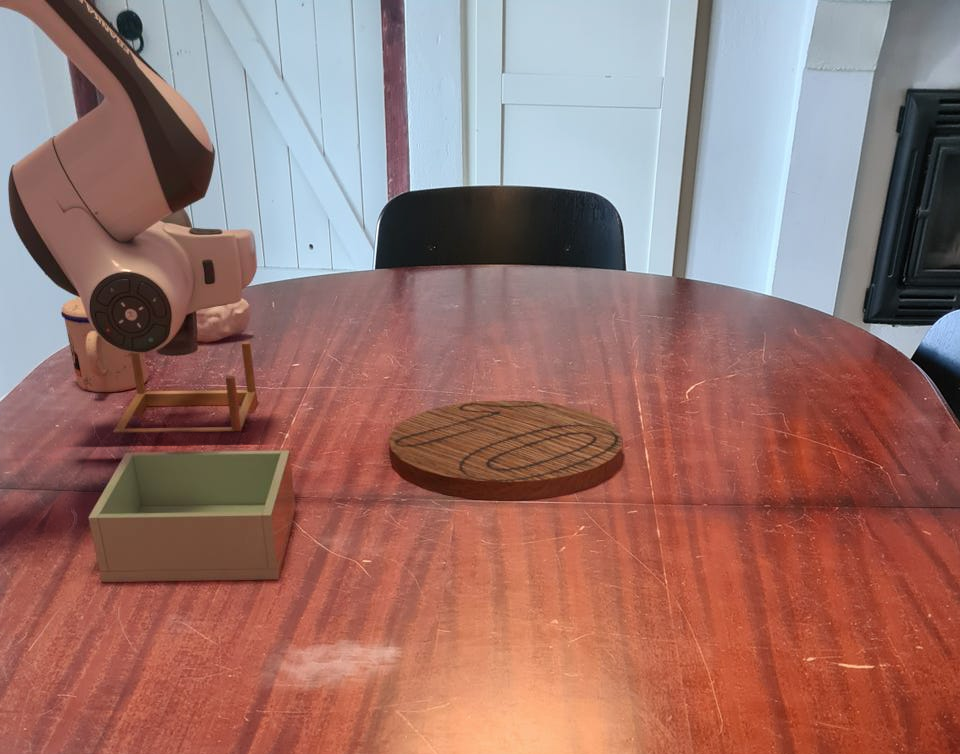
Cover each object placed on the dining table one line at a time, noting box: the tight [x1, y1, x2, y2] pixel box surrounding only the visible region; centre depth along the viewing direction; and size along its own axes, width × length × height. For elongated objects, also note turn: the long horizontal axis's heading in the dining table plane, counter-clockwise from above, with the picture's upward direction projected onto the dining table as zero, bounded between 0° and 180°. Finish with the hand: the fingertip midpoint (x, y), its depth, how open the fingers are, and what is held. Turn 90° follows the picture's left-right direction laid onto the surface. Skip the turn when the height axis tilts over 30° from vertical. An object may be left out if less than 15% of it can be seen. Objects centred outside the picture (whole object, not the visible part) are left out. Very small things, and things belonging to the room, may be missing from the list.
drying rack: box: [112, 341, 258, 434], centre depth 140 cm, size 14×14×7 cm
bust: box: [196, 297, 251, 343], centre depth 165 cm, size 12×8×11 cm
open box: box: [88, 449, 297, 583], centre depth 113 cm, size 16×16×6 cm
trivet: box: [388, 399, 624, 501], centre depth 132 cm, size 25×25×2 cm
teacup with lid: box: [60, 296, 149, 393], centre depth 149 cm, size 12×9×12 cm
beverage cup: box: [156, 208, 199, 357], centre depth 131 cm, size 7×7×20 cm
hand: (162, 239), depth 131 cm, fingers closed on beverage cup, 7 cm apart
